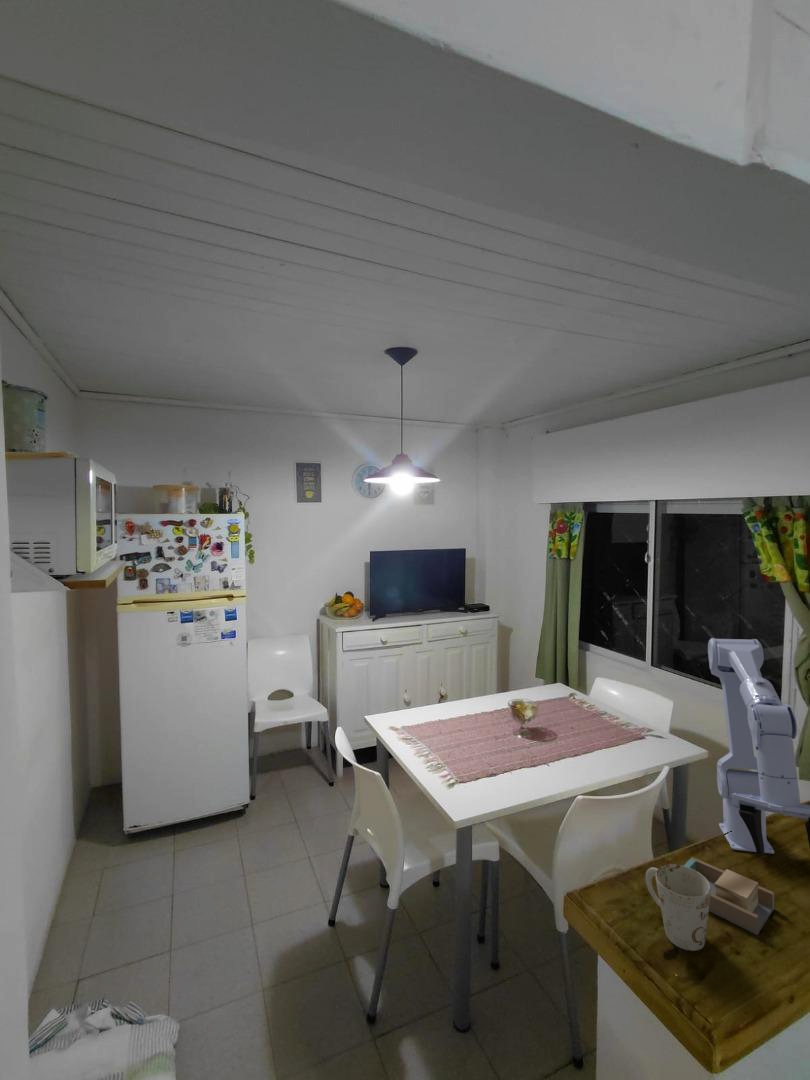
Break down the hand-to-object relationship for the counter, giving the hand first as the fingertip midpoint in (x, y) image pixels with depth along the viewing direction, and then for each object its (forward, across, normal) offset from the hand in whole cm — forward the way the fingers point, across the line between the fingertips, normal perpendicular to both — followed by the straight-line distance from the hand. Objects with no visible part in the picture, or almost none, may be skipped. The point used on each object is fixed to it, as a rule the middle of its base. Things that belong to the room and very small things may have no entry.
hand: (787, 860), depth 89 cm
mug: (+13, -16, -9) cm, 23 cm away
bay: (+11, -12, +3) cm, 16 cm away
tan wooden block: (+10, -9, +3) cm, 14 cm away
